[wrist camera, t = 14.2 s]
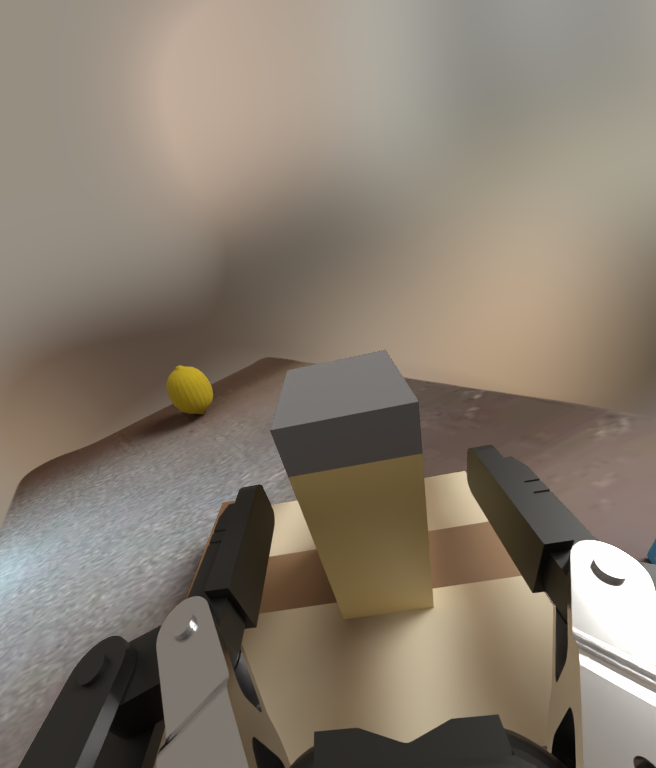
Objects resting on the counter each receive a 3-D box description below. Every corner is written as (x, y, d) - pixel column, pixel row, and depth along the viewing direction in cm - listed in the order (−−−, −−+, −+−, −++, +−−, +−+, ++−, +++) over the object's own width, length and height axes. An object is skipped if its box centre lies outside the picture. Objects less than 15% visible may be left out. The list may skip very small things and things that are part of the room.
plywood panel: (464, 482, 20) (464, 471, 20) (628, 745, 9) (638, 736, 9) (238, 521, 21) (232, 511, 21) (156, 791, 11) (141, 785, 10)
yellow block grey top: (407, 523, 17) (385, 349, 12) (434, 607, 13) (418, 401, 8) (338, 534, 17) (287, 370, 12) (343, 619, 13) (269, 430, 8)
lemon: (218, 417, 38) (193, 367, 35) (179, 429, 37) (150, 379, 34) (223, 400, 43) (202, 354, 39) (188, 410, 42) (164, 365, 39)
